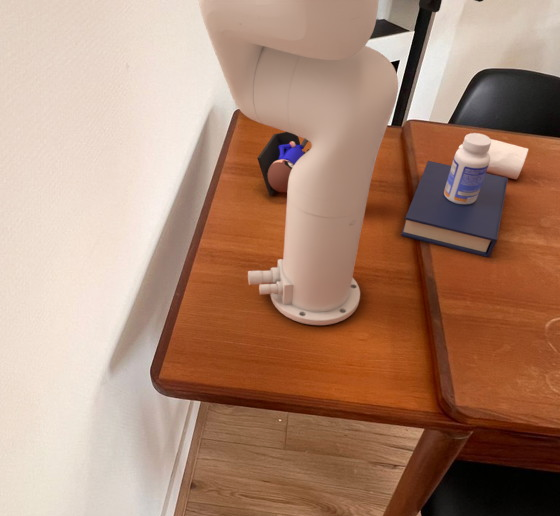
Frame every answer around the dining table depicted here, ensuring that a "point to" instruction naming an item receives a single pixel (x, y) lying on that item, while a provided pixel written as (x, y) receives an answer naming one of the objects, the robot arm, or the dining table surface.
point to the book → (455, 213)
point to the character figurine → (280, 160)
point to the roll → (505, 159)
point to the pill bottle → (468, 169)
